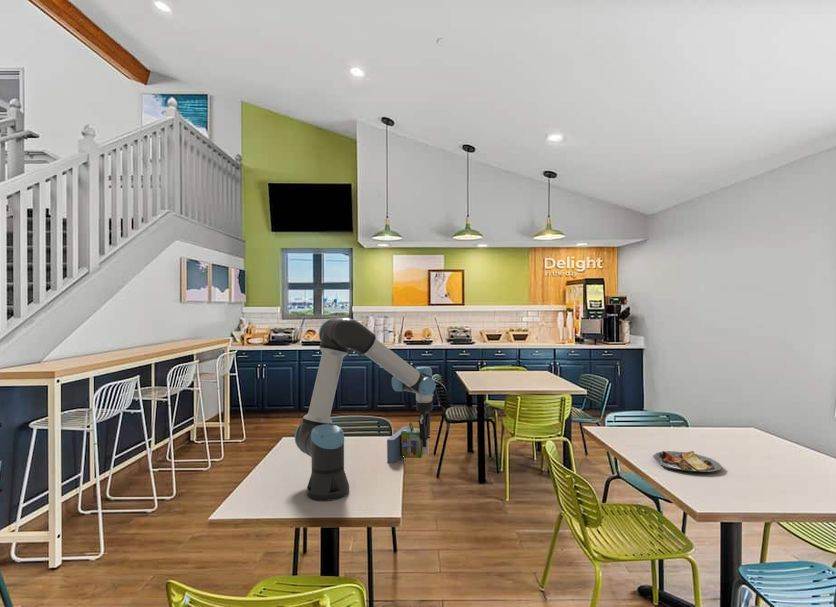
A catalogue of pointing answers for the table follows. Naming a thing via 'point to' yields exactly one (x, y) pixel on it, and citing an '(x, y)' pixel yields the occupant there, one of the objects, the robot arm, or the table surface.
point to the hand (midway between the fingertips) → (425, 453)
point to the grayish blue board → (394, 446)
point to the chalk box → (411, 442)
